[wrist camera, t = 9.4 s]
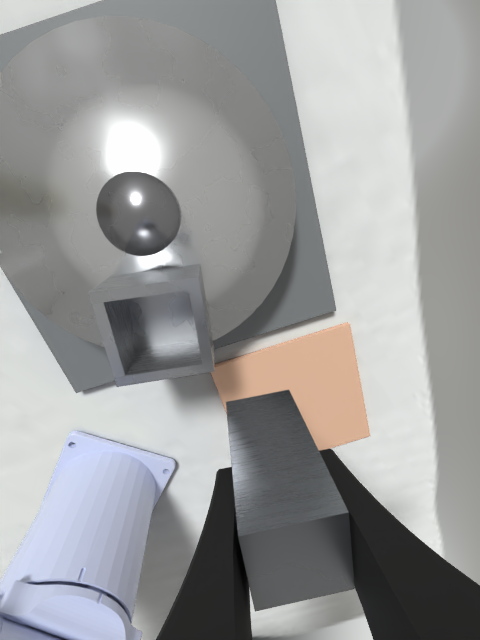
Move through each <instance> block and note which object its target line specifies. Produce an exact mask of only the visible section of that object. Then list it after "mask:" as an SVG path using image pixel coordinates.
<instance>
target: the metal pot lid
mask: <svg viewBox="0 0 480 640" xmlns="http://www.w3.org/2000/svg"><path fill="white" fill-rule="evenodd" d="M295 217H296V193H295V184H294V175H293V170H292V166H291V162H290V157H289V153H288V150H287V147H286V144H285V142H284V139H283V136H282V133H281V131H280V129H279V127H278V125H277V123H276V121H275V119H274V117H273V115H272V113H271V111H270V109H269V107H268V106H267V105H266V103H265V102H264V100H263V99H262V97H261V96H260V94H259V93H258V91H257V90H256V88H255V87H254V86H253V85H252V84H251V83H250V81H249V80H248V79H247V78H246V77H245V76H244V75H243V74H242V72H241V71H240V70H239V69H238V68H237V67H236V66H234V65H233V64H232V63H231V62H230V61H229V60H228V59H226V58H225V57H224V56H223V55H222V54H221V53H219V52H218V51H216V50H215V49H213V48H212V47H210V46H209V45H207V44H206V43H204V42H203V41H201V40H200V39H198V38H196V37H194V36H192V35H190V34H188V33H186V32H184V31H182V30H180V29H178V28H175V27H172V26H169V25H166V24H163V23H159V22H156V21H153V20H149V19H142V18H135V17H128V16H100V17H94V18H89V19H83V20H78V21H74V22H71V23H69V24H66V25H63V26H61V27H58V28H55V29H52V30H51V31H49V32H47V33H46V34H44V35H42V36H40V37H39V38H37V39H35V40H34V41H32V42H31V43H29V44H28V45H27V46H26V47H25V48H24V49H22V50H21V51H20V52H19V53H18V54H17V55H15V56H14V57H13V58H12V59H11V61H10V62H9V63H8V64H7V65H6V67H5V68H4V69H3V70H2V71H1V73H0V266H1V268H2V270H3V271H4V273H5V274H6V276H7V277H8V278H9V279H10V281H11V282H12V283H13V285H14V286H15V287H16V288H17V290H18V291H19V292H20V293H21V294H22V295H23V296H24V297H25V298H26V299H27V300H28V301H29V302H30V303H31V304H32V305H33V306H34V307H35V308H36V309H37V310H39V311H40V312H41V313H42V314H43V315H45V316H46V317H47V318H48V319H50V320H51V321H52V322H54V323H56V324H57V325H59V326H60V327H62V328H63V329H65V330H66V331H68V332H70V333H72V334H74V335H76V336H78V337H80V338H82V339H84V340H86V341H89V342H91V343H94V344H97V345H99V346H102V347H105V349H106V353H107V356H108V359H109V362H110V366H111V369H112V372H113V375H114V379H115V382H116V385H117V387H119V386H126V385H132V384H139V383H145V382H151V381H158V380H164V379H171V378H177V377H184V376H190V375H197V374H203V373H210V372H215V368H214V343H213V341H214V340H216V339H218V338H220V337H222V336H224V335H225V334H227V333H228V332H230V331H231V330H233V329H234V328H236V327H237V326H239V325H240V324H241V323H242V322H243V321H245V320H246V319H247V318H248V317H249V316H250V315H251V314H252V313H253V312H254V311H255V310H256V309H257V308H258V307H259V306H260V305H261V304H262V302H263V301H264V300H265V298H266V297H267V295H268V294H269V293H270V291H271V290H272V288H273V287H274V285H275V283H276V281H277V279H278V277H279V276H280V274H281V272H282V269H283V267H284V264H285V262H286V259H287V256H288V253H289V250H290V246H291V242H292V238H293V232H294V224H295Z"/></svg>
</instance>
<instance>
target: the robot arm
mask: <svg viewBox="0 0 480 640" xmlns="http://www.w3.org/2000/svg"><path fill="white" fill-rule="evenodd" d="M71 442H73V443H75V444H72V443H71ZM319 452H320V454H321V456H322V458H323V460H324V462H325V464H326V467H327V469H328V471H329V473H330V475H331V477H332V479H333V481H334V483H335V485H336V487H337V489H338V491H339V493H340V495H341V497H342V499H343V501H344V504H345V506H346V508H347V510H348V512H349V521H350V534H351V548H352V561H353V574H354V586H355V589H356V591H357V594H358V596H359V599H360V602H361V604H362V607H363V610H364V613H365V616H366V619H367V622H368V625H369V627H370V630H371V633H372V636H373V639H374V640H480V585H478V584H477V583H476V582H474V581H473V580H471V579H470V578H469V577H467V576H466V575H465V574H463V573H462V572H461V571H459V570H458V569H456V568H455V567H454V566H452V565H451V564H450V563H448V562H447V561H446V560H444V559H443V558H442V557H441V556H439V555H438V554H437V553H436V552H434V551H433V550H432V549H431V548H429V547H428V546H427V545H426V544H425V543H423V542H422V541H421V540H420V539H419V538H418V537H416V536H415V535H414V534H413V533H412V532H411V531H409V530H408V529H407V528H406V527H405V526H404V525H403V524H402V523H400V522H399V521H398V520H397V519H396V518H395V517H394V516H393V515H392V514H391V513H390V512H389V511H388V510H387V509H385V508H384V507H383V506H382V505H381V504H380V503H379V502H378V501H377V500H376V499H375V498H374V497H373V496H372V494H371V493H370V492H369V491H368V490H367V489H366V488H365V487H364V486H363V485H362V484H361V483H360V482H359V481H358V480H357V479H356V478H355V476H354V475H353V474H352V473H351V472H350V471H349V470H348V468H347V467H346V466H345V465H344V464H343V463H342V461H341V460H340V459H339V458H338V456H337V455H336V454H335V453H334V451H333V450H331V449H325V450H319ZM175 464H176V463H175V461H174V460H173V459H171V458H168V457H164V456H161V455H158V454H154V453H151V452H147V451H144V450H140V449H137V448H134V447H130V446H127V445H123V444H120V443H117V442H113V441H110V440H106V439H103V438H100V437H96V436H93V435H89V434H86V433H83V432H79V431H72V432H70V434H69V435H68V437H67V439H66V442H65V444H64V447H63V449H62V452H61V455H60V457H59V460H58V463H57V465H56V468H55V471H54V473H53V476H52V478H51V481H50V484H49V486H48V489H47V492H46V494H45V497H44V500H43V502H42V505H41V507H40V510H39V512H38V514H37V515H36V517H35V519H34V521H33V523H32V524H31V526H30V528H29V530H28V532H27V533H26V535H25V537H24V539H23V541H22V542H21V544H20V546H19V548H18V550H17V551H16V553H15V555H14V557H13V559H12V560H11V562H10V564H9V566H8V568H7V570H6V571H5V573H4V575H3V577H2V579H1V580H0V640H141V637H142V632H141V631H140V630H138V629H136V628H135V627H133V626H132V625H131V623H132V618H133V613H134V607H135V602H136V596H137V591H138V585H139V580H140V574H141V569H142V564H143V558H144V553H145V547H146V542H147V536H148V531H149V525H150V520H151V515H152V511H153V509H154V507H155V505H156V503H157V501H158V499H159V497H160V495H161V494H162V492H163V490H164V488H165V486H166V484H167V482H168V480H169V478H170V476H171V474H172V473H173V471H174V469H175ZM164 469H168V470H164ZM156 640H252V631H251V618H250V595H249V582H248V578H247V573H246V569H245V565H244V560H243V556H242V551H241V547H240V543H239V538H238V530H237V519H236V508H235V497H234V486H233V475H232V467H229V468H224V469H219V470H218V471H217V474H216V481H215V486H214V491H213V495H212V499H211V503H210V507H209V510H208V514H207V517H206V521H205V524H204V527H203V531H202V534H201V536H200V539H199V542H198V545H197V548H196V551H195V554H194V556H193V559H192V562H191V564H190V567H189V569H188V572H187V574H186V577H185V579H184V581H183V584H182V586H181V588H180V591H179V593H178V595H177V597H176V600H175V602H174V604H173V606H172V608H171V610H170V613H169V615H168V617H167V619H166V621H165V623H164V625H163V627H162V629H161V631H160V633H159V635H158V637H157V639H156Z"/></svg>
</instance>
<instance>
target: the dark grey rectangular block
mask: <svg viewBox="0 0 480 640" xmlns="http://www.w3.org/2000/svg"><path fill="white" fill-rule="evenodd" d="M226 410H227V421H228V431H229V442H230V453H231V464H232V475H233V486H234V497H235V508H236V519H237V530H238V538H239V543H240V547H241V551H242V556H243V560H244V565H245V569H246V573H247V578H248V582H249V587H250V591H251V596H252V600H253V604H254V609H255V611H259V610H263V609H268V608H272V607H277V606H281V605H285V604H290V603H294V602H299V601H303V600H307V599H312V598H316V597H321V596H325V595H330V594H334V593H338V592H343V591H347V590H352V589H355V587H354V574H353V561H352V548H351V534H350V521H349V512H348V510H347V508H346V506H345V504H344V501H343V499H342V497H341V495H340V493H339V491H338V489H337V487H336V485H335V483H334V481H333V479H332V477H331V475H330V473H329V471H328V469H327V467H326V464H325V462H324V460H323V458H322V456H321V454H320V452H319V450H318V448H317V446H316V444H315V442H314V440H313V438H312V436H311V434H310V432H309V430H308V427H307V425H306V423H305V421H304V419H303V417H302V415H301V413H300V411H299V409H298V407H297V405H296V403H295V401H294V399H293V397H292V395H291V393H290V390H284V391H279V392H274V393H269V394H264V395H259V396H254V397H249V398H243V399H238V400H233V401H228V402H226Z"/></svg>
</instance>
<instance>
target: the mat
mask: <svg viewBox="0 0 480 640" xmlns="http://www.w3.org/2000/svg"><path fill="white" fill-rule="evenodd" d="M214 368H215V372H211V375H212V378H213V380H214V383H215V385H216V388H217V390H218V393H219V396H220V398H221V401H222V403H223V406H224V408H225V411H226V413H227V410H226V402H228V401H233V400H238V399H243V398H249V397H254V396H259V395H264V394H269V393H274V392H279V391H284V390H290V393H291V395H292V397H293V399H294V401H295V403H296V405H297V407H298V409H299V411H300V413H301V415H302V417H303V419H304V421H305V423H306V425H307V427H308V430H309V432H310V434H311V436H312V438H313V440H314V442H315V444H316V446H317V448H318V450H325V449H330V448H333V447H336V446H339V445H342V444H346V443H349V442H352V441H355V440H358V439H362V438H365V437H368V436H370V432H369V426H368V421H367V415H366V410H365V404H364V399H363V393H362V388H361V382H360V377H359V371H358V366H357V360H356V355H355V349H354V344H353V338H352V333H351V327H350V324H349V323H348V322H347V323H344V324H341V325H338V326H334V327H331V328H328V329H325V330H322V331H319V332H316V333H312V334H309V335H306V336H303V337H300V338H297V339H293V340H290V341H287V342H284V343H281V344H278V345H275V346H271V347H268V348H265V349H262V350H259V351H256V352H252V353H249V354H246V355H243V356H240V357H237V358H234V359H230V360H227V361H224V362H221V363H218V364H215V365H214Z"/></svg>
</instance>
